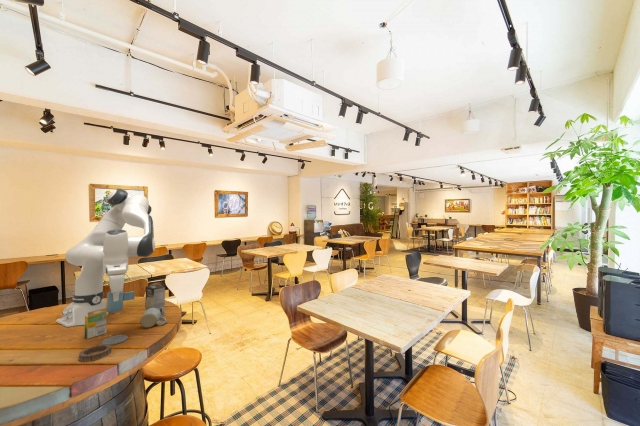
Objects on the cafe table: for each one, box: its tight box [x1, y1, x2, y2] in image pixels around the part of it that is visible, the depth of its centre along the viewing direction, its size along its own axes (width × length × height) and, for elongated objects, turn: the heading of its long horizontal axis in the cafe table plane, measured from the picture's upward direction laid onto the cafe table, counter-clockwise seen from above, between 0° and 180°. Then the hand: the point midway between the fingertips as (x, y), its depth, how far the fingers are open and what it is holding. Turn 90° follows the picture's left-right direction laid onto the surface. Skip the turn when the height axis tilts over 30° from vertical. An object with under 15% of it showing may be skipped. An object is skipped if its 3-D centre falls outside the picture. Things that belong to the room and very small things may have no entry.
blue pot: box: [106, 290, 136, 313], centre depth 116 cm, size 10×6×8 cm, turn 130°
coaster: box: [100, 334, 129, 346], centre depth 114 cm, size 9×9×1 cm
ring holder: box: [78, 344, 112, 363], centre depth 102 cm, size 9×9×2 cm
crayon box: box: [84, 307, 108, 340], centre depth 120 cm, size 7×3×12 cm, turn 152°
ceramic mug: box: [139, 308, 167, 328], centre depth 132 cm, size 11×8×8 cm
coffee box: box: [144, 283, 166, 317], centre depth 145 cm, size 9×6×16 cm
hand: (115, 299), depth 115 cm, fingers closed on blue pot, 6 cm apart
